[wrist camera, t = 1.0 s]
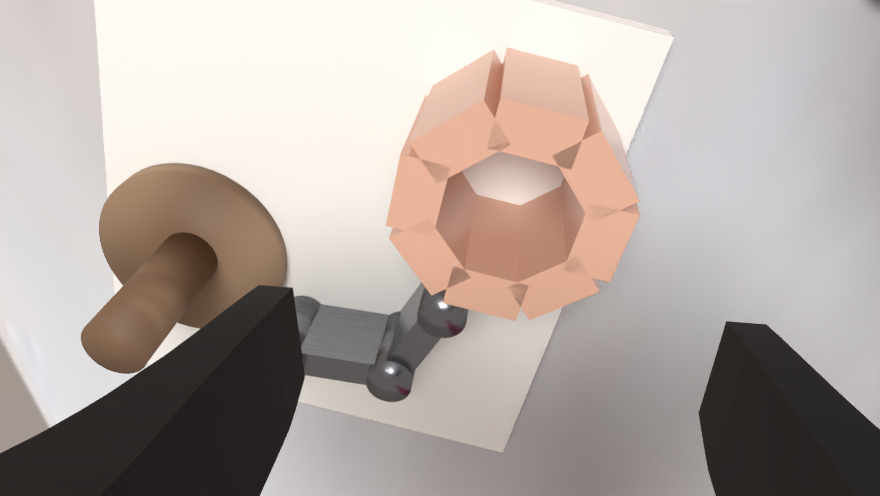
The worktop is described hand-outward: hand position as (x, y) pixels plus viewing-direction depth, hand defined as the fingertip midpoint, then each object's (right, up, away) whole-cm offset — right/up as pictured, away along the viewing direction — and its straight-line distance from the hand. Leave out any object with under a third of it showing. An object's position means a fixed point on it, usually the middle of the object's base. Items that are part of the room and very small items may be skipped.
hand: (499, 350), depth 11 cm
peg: (-9, +2, +10) cm, 14 cm away
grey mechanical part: (-3, 0, +10) cm, 11 cm away
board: (-4, +3, +10) cm, 11 cm away
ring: (+1, +4, +7) cm, 9 cm away
